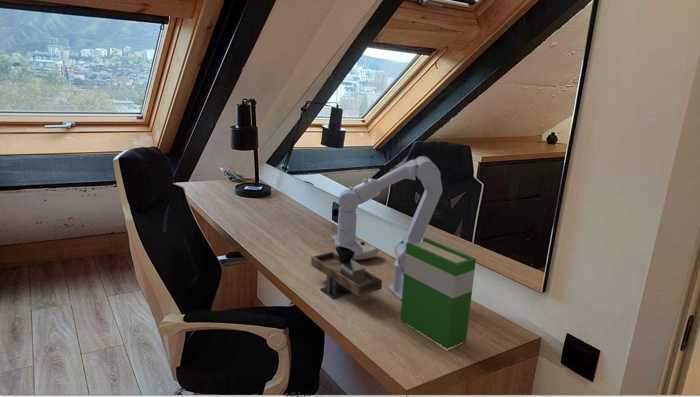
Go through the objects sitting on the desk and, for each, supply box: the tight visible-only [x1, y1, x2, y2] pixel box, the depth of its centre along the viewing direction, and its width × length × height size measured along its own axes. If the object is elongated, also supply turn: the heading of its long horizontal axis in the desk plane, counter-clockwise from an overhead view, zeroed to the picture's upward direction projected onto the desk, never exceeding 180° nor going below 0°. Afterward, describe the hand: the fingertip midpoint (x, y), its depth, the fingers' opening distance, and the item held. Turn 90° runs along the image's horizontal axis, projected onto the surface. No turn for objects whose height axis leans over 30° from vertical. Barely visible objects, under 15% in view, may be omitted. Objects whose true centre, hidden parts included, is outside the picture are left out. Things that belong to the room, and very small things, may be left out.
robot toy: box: [352, 240, 382, 261], centre depth 178 cm, size 12×4×15 cm
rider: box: [341, 260, 366, 282], centre depth 145 cm, size 7×5×5 cm
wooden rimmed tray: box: [310, 251, 383, 297], centre depth 149 cm, size 26×9×3 cm, turn 37°
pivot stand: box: [319, 275, 354, 300], centre depth 150 cm, size 7×14×6 cm, turn 127°
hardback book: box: [400, 237, 477, 349], centre depth 125 cm, size 18×7×24 cm, turn 37°
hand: (345, 268), depth 148 cm, fingers closed
